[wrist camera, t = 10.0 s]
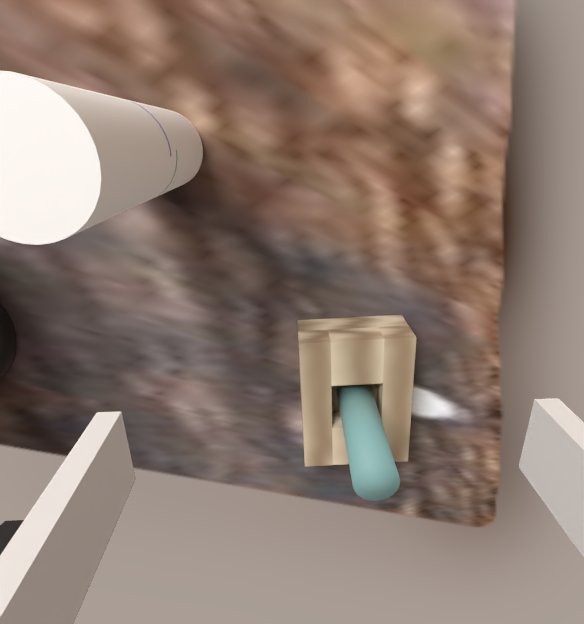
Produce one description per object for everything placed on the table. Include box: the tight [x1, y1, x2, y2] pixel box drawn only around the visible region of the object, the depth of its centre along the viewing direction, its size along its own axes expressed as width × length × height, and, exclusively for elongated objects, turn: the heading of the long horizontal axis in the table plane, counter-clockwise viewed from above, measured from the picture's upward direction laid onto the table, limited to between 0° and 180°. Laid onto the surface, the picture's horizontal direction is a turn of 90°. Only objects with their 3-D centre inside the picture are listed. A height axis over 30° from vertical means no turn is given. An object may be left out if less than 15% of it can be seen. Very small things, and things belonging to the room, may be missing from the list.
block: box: [297, 315, 416, 466], centre depth 49 cm, size 12×16×6 cm
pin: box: [337, 384, 400, 501], centre depth 42 cm, size 4×4×14 cm
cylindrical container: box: [0, 71, 203, 245], centre depth 30 cm, size 7×7×25 cm
